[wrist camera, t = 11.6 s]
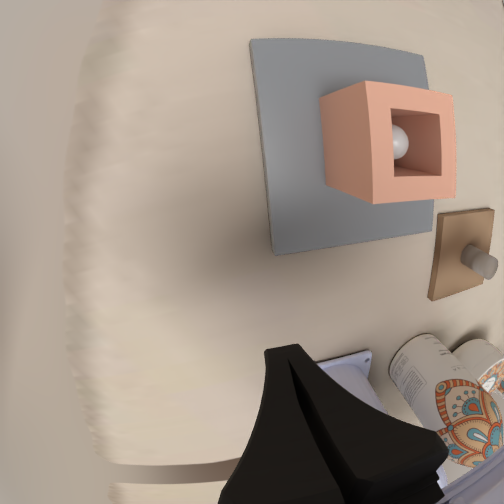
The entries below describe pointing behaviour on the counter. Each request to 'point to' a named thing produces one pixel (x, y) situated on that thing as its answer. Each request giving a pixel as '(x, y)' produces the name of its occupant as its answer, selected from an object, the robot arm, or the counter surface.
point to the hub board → (311, 142)
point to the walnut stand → (462, 252)
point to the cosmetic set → (454, 393)
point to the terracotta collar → (389, 142)
